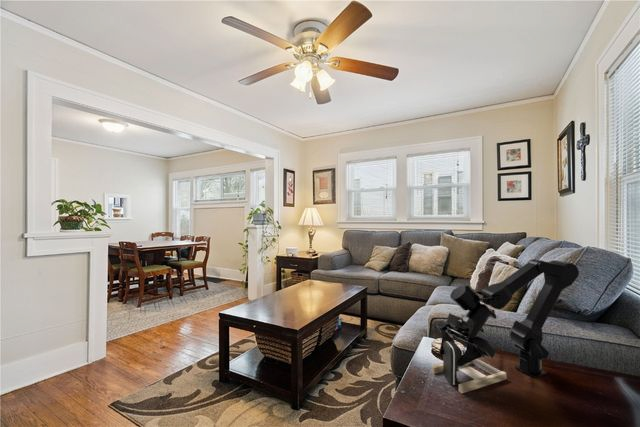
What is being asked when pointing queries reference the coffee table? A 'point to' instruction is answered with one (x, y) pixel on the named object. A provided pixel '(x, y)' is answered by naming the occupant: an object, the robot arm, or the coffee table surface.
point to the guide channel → (475, 375)
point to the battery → (451, 361)
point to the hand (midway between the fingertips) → (449, 359)
